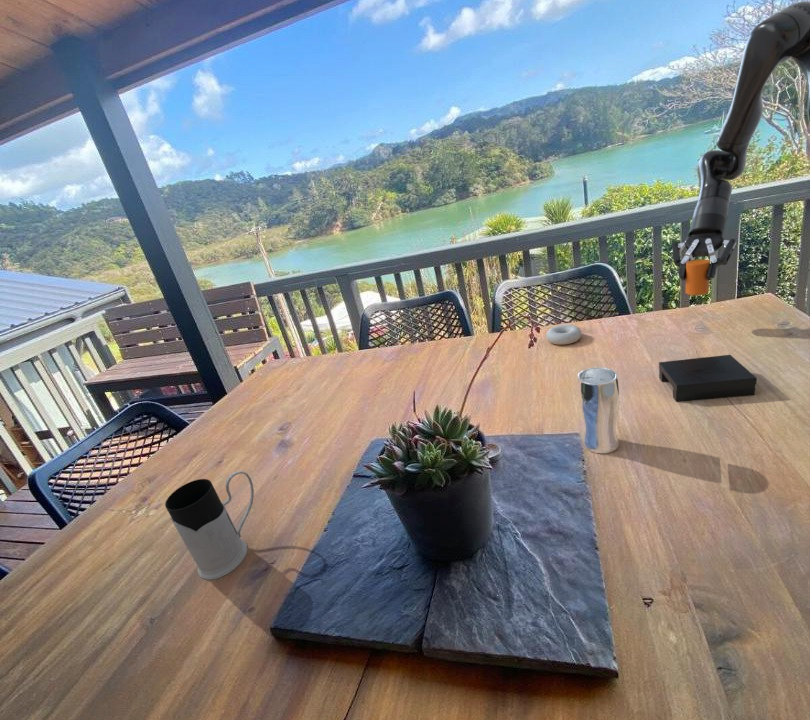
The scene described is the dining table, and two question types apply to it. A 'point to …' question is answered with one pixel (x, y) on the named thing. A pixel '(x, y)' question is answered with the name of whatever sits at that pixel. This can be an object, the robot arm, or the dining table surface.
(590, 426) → the silver metal tumbler
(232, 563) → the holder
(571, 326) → the donut
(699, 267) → the candle
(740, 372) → the black display riser
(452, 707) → the dining table surface
